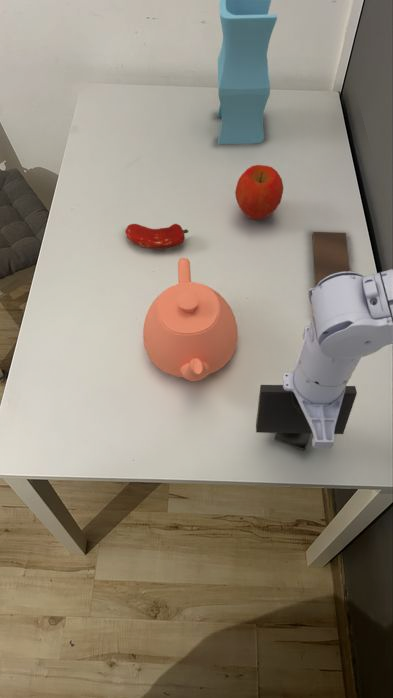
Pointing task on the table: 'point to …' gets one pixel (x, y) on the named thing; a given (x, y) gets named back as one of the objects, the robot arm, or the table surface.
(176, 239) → the vegetable
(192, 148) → the table surface
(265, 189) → the apple
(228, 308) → the teapot
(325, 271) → the brown board with ring
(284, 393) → the panel
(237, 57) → the vase
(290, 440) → the monitor stand
